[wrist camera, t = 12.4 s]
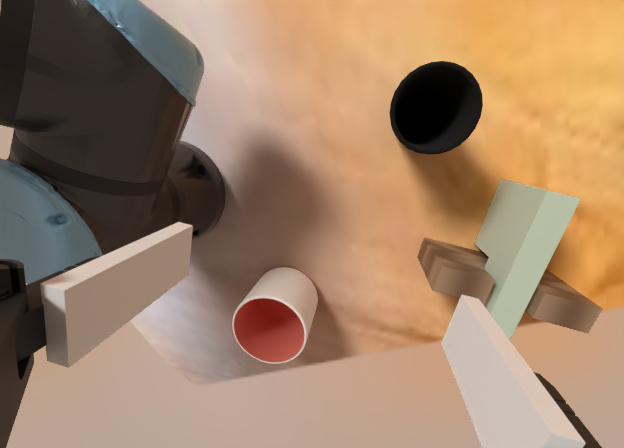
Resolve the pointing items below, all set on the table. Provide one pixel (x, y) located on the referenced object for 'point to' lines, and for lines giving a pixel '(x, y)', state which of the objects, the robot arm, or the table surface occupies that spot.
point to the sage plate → (520, 245)
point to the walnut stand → (478, 282)
